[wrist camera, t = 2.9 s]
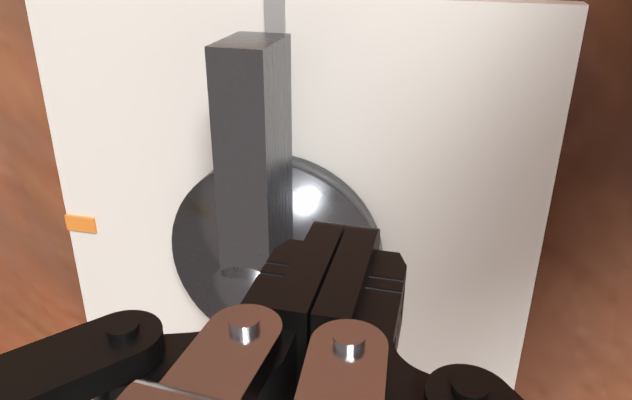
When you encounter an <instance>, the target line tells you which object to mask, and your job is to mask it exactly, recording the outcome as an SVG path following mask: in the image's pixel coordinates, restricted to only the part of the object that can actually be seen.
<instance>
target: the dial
mask: <svg viewBox="0 0 632 400" xmlns="http://www.w3.org/2000/svg"><path fill="white" fill-rule="evenodd" d="M204 48H205V62H206V76H207V89H208V103H209V117H210V131H211V144H212V158H213V170H212V171H211V172H210V173H208V174H207V175H206V176H205V177H204V178H203V179H202V180H200V181H199V182H198V183H197V184H196V185H195V186H194V187H193V188H192V189H191V191H190V192H189V193H188V194H187V195H186V197H185V198H184V200H183V201H182V203H181V204H180V207H179V209H178V211H177V214H176V216H175V220H174V224H173V229H172V253H173V259H174V263H175V267H176V270H177V273H178V275H179V278H180V280H181V282H182V284H183V286H184V288H185V290H186V291H187V293H188V295H189V296H190V298H191V299H192V300H193V302H194V303H195V304H196V306H197V307H198V308H199V309H200V310H201V311H202V312H203V313H204V314H205V315H206V316H207V317H208V318H209V319H210V318H211V317H212V316H213V315H215V314H216V313H217V312H219V311H221V310H222V309H225V308H227V307H230V306H234V305H239V304H240V303H241V302H242V300H243V299H244V297H245V295H246V294H247V292H248V290H249V289H250V287H251V286H252V284H253V282H254V281H255V279H256V277H257V276H258V274H260V271H261V269H262V268H263V266H264V264H266V261H267V259H268V258H269V256H270V255H271V253H272V251H273V250H274V248H276V247H277V246H279V245H281V244H282V243H284V242H285V241H287V240H288V239H295V240H303V241H304V239H305V237H306V235H307V233H308V231H309V230H310V228H311V226H312V224H313V222H314V221H320V222H328V223H337V224H345V225H346V226H347V225H354V226H363V227H371V228H377V226H376V223H375V221H374V219H373V217H372V215H371V213H370V212H369V210H368V208H367V207H366V205H365V204H364V202H363V201H362V200H361V199H360V197H359V196H358V195H357V194H356V193H355V191H354V190H352V189H351V188H350V187H349V186H348V185H347V184H346V183H345V182H344V181H343V180H341V179H340V178H339V177H337V176H336V175H335V174H333V173H332V172H330V171H328V170H327V169H325V168H323V167H321V166H320V165H317V164H315V163H313V162H310V161H308V160H306V159H302V158H299V157H295V156H292V103H291V34H288V33H267V32H247V31H238V32H236V33H234V34H232V35H229V36H227V37H225V38H223V39H220V40H218V41H216V42H214V43H211V44H209V45H207V46H205V47H204ZM379 250H382V251H383V248H382V242H381V238H380V247H379Z"/></svg>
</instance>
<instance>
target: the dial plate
mask: <svg viewBox="0 0 632 400" xmlns="http://www.w3.org/2000/svg"><path fill="white" fill-rule="evenodd" d="M25 3H26V8H27V14H28V19H29V24H30V29H31V34H32V39H33V44H34V50H35V55H36V60H37V65H38V70H39V75H40V80H41V86H42V91H43V96H44V101H45V106H46V111H47V117H48V122H49V127H50V132H51V137H52V142H53V147H54V153H55V158H56V163H57V168H58V173H59V178H60V183H61V189H62V194H63V199H64V204H65V209H66V215H64V216H65V221H66V226H67V230H70V235H71V240H72V245H73V250H74V256H75V261H76V266H77V271H78V276H79V281H80V287H81V292H82V297H83V302H84V307H85V312H86V317H87V322H89V321H92V320H95V319H97V318H100V317H103V316H105V315H108V314H111V313H114V312H118V311H124V310H142V311H147V312H150V313H152V314H154V315H156V316H157V317H158V318H159V319H160V320H161V322H162V325H163V333H164V334H173V333H189V332H199V331H201V330H202V328H203V327H204V326H205V325H206V323H207V322H208V321H209V320H210V319H209V318H208V317H207V316H206V315H205V314H204V313H203V312H202V311H201V310H200V309H199V308H198V307H197V306H196V304H195V303H194V302H193V300H192V299H191V298H190V296H189V295H188V293H187V291H186V290H185V288H184V286H183V284H182V282H181V280H180V278H179V275H178V273H177V270H176V267H175V263H174V259H173V253H172V229H173V224H174V220H175V216H176V214H177V211H178V209H179V207H180V204H181V203H182V201H183V200H184V198H185V197H186V195H187V194H188V193H189V192H190V191H191V189H192V188H193V187H194V186H195V185H196V184H197V183H198V182H199V181H200V180H202V179H203V178H204V177H205V176H206V175H207V174H208V173H210V172H211V171H212V170H213V158H212V144H211V131H210V117H209V103H208V89H207V76H206V62H205V48H204V47H205V46H207V45H209V44H211V43H214V42H216V41H218V40H220V39H223V38H225V37H227V36H229V35H232V34H234V33H236V32H238V31H247V32H267V33H288V34H291V103H292V156H295V157H299V158H302V159H306V160H308V161H310V162H313V163H315V164H317V165H320V166H321V167H323V168H325V169H327V170H328V171H330V172H332V173H333V174H335V175H336V176H337V177H339V178H340V179H341V180H343V181H344V182H345V183H346V184H347V185H348V186H349V187H350V188H351V189H352V190H354V191H355V193H356V194H357V195H358V196H359V197H360V199H361V200H362V201H363V202H364V204H365V205H366V207H367V208H368V210H369V212H370V213H371V215H372V217H373V219H374V221H375V223H376V226H377V228H379V229H380V238H381V242H382V248H383V251H390V252H398V253H400V254H401V256H402V258H403V260H404V261H405V263H406V265H407V271H406V282H405V294H404V305H403V316H402V325H401V331H400V336H399V342H398V348H397V352H398V354H399V355H400V356H401V357H402V358H403V359H404V360H405V361H406V362H407V363H409V364H410V365H412V366H413V367H415V368H417V369H419V370H421V371H423V372H426V373H428V374H431V373H432V372H433V371H434V370H436V369H437V368H440V367H442V366H445V365H449V364H469V365H474V366H478V367H481V368H484V369H486V370H488V371H490V372H492V373H494V374H496V375H497V376H499V377H500V378H501V379H502V380H503V381H505V382H506V383H507V384H508V385H509V386H510V387H511V388H512V389H513V390H514V387H515V382H516V377H517V371H518V366H519V361H520V356H521V351H522V346H523V341H524V336H525V331H526V325H527V320H528V315H529V310H530V305H531V300H532V295H533V290H534V285H535V279H536V274H537V269H538V264H539V259H540V254H541V249H542V244H543V238H544V233H545V228H546V223H547V218H548V213H549V208H550V203H551V198H552V192H553V187H554V182H555V177H556V172H557V167H558V162H559V157H560V152H561V146H562V141H563V136H564V131H565V126H566V121H567V116H568V111H569V105H570V100H571V95H572V90H573V85H574V80H575V75H576V70H577V65H578V59H579V54H580V49H581V44H582V39H583V34H584V29H585V24H586V18H587V13H588V8H589V5H588V4H587V3H585V2H584V1H560V0H25Z"/></svg>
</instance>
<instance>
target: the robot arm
mask: <svg viewBox="0 0 632 400" xmlns="http://www.w3.org/2000/svg"><path fill="white" fill-rule="evenodd" d="M379 247H380V229H379V228H371V227H363V226H354V225H347V226H346V225H345V224H337V223H328V222H320V221H314V222H313V224H312V226H311V228H310V230H309V231H308V233H307V235H306V237H305V239H304V241H303V240H295V239H288V240H287V241H285V242H284V243H282V244H281V245H279V246H277V247H276V248H274V250H273V251H272V253H271V255H270V256H269V258H268V259H267V261H266V264H264V266H263V268H262V269H261V271H260V274H258V276H257V277H256V279H255V281H254V282H253V284H252V286H251V287H250V289H249V290H248V292H247V294H246V295H245V297H244V299H243V300H242V302H241V303H240V304H239V305H234V306H230V307H227V308H225V309H222V310H221V311H219V312H217V313H216V314H215V315H213V316H212V317H211V318H210V320H209V321H208V322H207V323H206V325H205V326H204V327H203V328H202V330H201V331H199V332H189V333H173V334H164V333H163V325H162V322H161V320H160V319H159V318H158V317H157V316H156V315H154V314H152V313H150V312H147V311H142V310H124V311H118V312H114V313H111V314H108V315H105V316H103V317H100V318H97V319H95V320H92V321H89V322H86V323H84V324H81V325H78V326H76V327H73V328H70V329H68V330H65V331H62V332H60V333H57V334H54V335H52V336H49V337H46V338H44V339H41V340H38V341H36V342H33V343H30V344H27V345H25V346H22V347H19V348H17V349H14V350H11V351H9V352H6V353H3V354H1V355H0V400H91V399H93V398H94V400H524V399H523V398H521V397H520V396H519V395H518V394H517V393H516V392H515V391H514V390H513V389H512V388H511V387H510V386H509V385H508V384H507V383H506V382H505V381H503V380H502V379H501V378H500V377H499V376H497V375H496V374H494V373H492V372H490V371H488V370H486V369H484V368H481V367H478V366H474V365H469V364H449V365H445V366H442V367H440V368H437V369H436V370H434V371H433V372H432V373H431V374H428V373H426V372H423V371H421V370H419V369H417V368H415V367H413V366H412V365H410V364H409V363H407V362H406V361H405V360H404V359H403V358H402V357H401V356H400V355H399V354H398V352H397V348H398V342H399V336H400V331H401V325H402V316H403V305H404V294H405V282H406V271H407V265H406V263H405V261H404V260H403V258H402V256H401V254H400V253H398V252H390V251H382V250H379Z"/></svg>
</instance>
